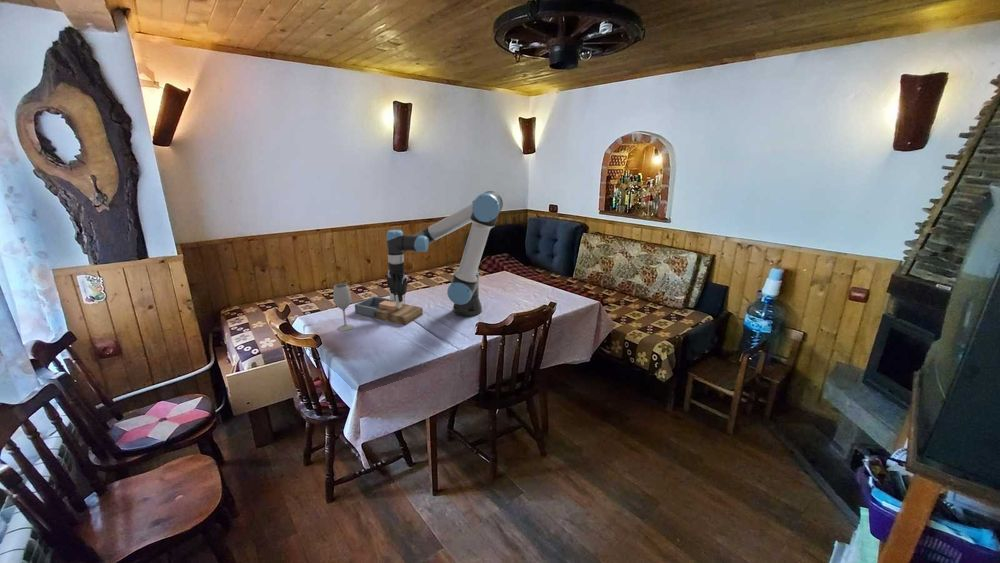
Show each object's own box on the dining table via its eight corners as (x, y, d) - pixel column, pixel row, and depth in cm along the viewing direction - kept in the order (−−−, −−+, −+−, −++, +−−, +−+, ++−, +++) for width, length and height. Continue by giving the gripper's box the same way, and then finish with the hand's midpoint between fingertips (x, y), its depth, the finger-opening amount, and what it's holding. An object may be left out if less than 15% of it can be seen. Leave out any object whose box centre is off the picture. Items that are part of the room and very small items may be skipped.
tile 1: (393, 305, 202) (393, 302, 201) (386, 308, 197) (386, 305, 197) (385, 304, 203) (385, 300, 203) (378, 307, 199) (378, 303, 198)
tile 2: (401, 307, 200) (400, 303, 199) (394, 310, 195) (394, 307, 195) (393, 305, 202) (392, 302, 201) (386, 309, 197) (386, 305, 196)
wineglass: (338, 332, 180) (332, 289, 174) (336, 325, 187) (331, 284, 180) (355, 329, 184) (350, 287, 177) (353, 323, 190) (348, 282, 183)
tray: (393, 308, 208) (393, 299, 206) (375, 318, 196) (374, 309, 194) (374, 304, 213) (373, 296, 211) (355, 313, 201) (354, 304, 199)
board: (422, 314, 201) (422, 307, 200) (406, 325, 189) (405, 317, 188) (394, 308, 208) (393, 301, 207) (376, 318, 196) (375, 311, 194)
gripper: (412, 262, 190) (414, 307, 198) (390, 258, 195) (393, 302, 202) (402, 265, 184) (405, 312, 191) (380, 262, 188) (383, 307, 196)
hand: (398, 307), depth 197 cm, fingers closed
